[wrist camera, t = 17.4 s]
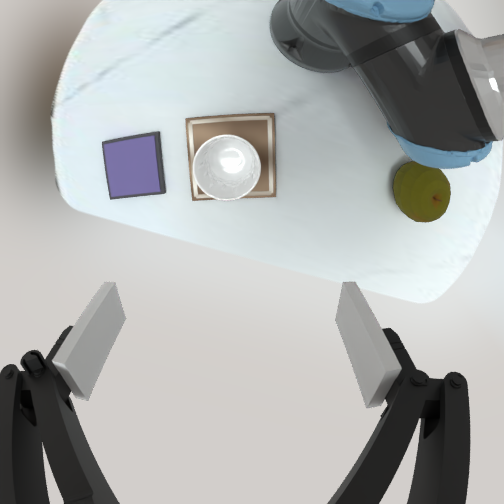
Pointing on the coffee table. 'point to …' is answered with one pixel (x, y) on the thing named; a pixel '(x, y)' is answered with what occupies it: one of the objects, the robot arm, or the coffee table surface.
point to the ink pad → (134, 166)
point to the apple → (421, 192)
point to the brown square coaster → (244, 125)
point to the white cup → (226, 167)
